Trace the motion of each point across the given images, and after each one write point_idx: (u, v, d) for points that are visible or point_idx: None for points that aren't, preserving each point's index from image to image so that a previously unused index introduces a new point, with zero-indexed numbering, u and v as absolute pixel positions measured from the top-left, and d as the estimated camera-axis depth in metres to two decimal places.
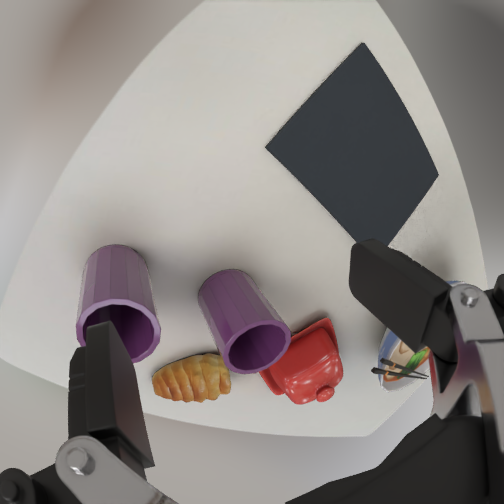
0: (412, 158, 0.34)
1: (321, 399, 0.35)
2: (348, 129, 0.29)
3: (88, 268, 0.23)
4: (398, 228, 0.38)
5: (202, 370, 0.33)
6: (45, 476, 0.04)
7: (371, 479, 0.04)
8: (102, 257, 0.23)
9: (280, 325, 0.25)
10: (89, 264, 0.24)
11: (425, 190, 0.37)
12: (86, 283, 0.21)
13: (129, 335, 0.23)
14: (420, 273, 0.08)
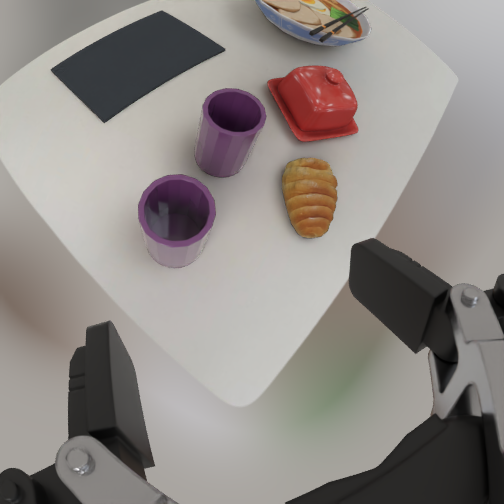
0: (141, 29, 0.38)
1: (338, 78, 0.33)
2: (106, 72, 0.34)
3: (149, 250, 0.29)
4: (199, 34, 0.40)
5: (292, 181, 0.34)
6: (46, 477, 0.04)
7: (371, 479, 0.04)
8: None
9: (214, 94, 0.28)
10: (149, 251, 0.29)
11: (171, 18, 0.40)
12: (147, 243, 0.26)
13: (204, 217, 0.27)
14: (420, 273, 0.08)
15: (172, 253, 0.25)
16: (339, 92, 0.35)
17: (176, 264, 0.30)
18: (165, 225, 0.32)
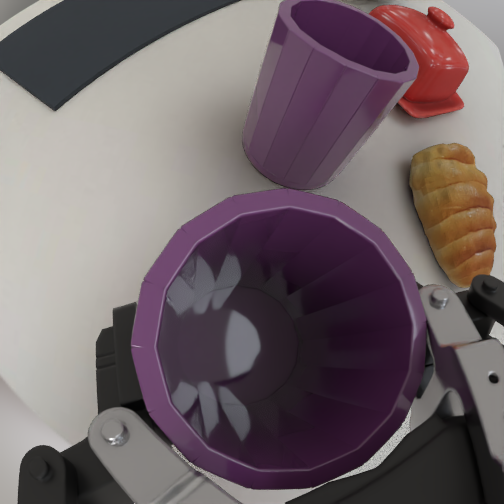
0: None
1: (449, 20, 0.15)
2: (62, 37, 0.17)
3: None
4: None
5: (439, 187, 0.16)
6: (74, 453, 0.04)
7: (371, 479, 0.04)
8: None
9: (295, 0, 0.10)
10: None
11: None
12: None
13: (348, 314, 0.09)
14: None
15: None
16: (451, 42, 0.17)
17: None
18: (211, 320, 0.13)
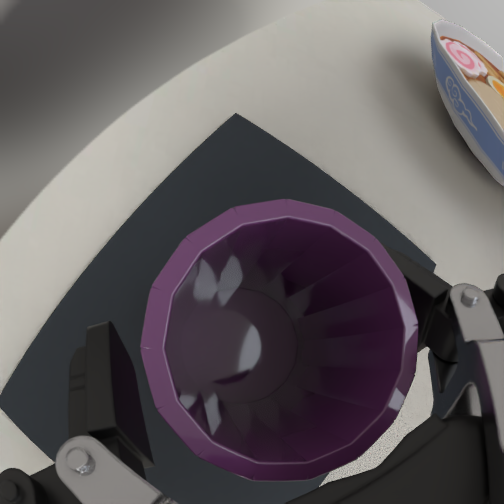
0: (209, 213, 0.16)
1: None
2: (175, 443, 0.12)
3: None
4: (372, 216, 0.18)
5: None
6: (45, 476, 0.04)
7: (371, 479, 0.04)
8: None
9: None
10: None
11: (278, 149, 0.18)
12: None
13: (344, 316, 0.09)
14: (420, 273, 0.08)
15: None
16: None
17: None
18: (213, 321, 0.14)
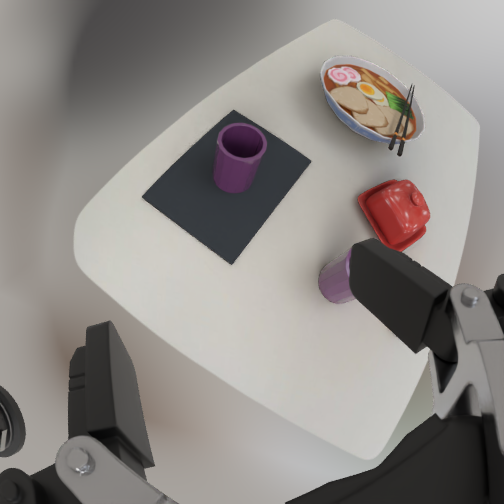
0: None
1: (421, 201, 0.41)
2: (211, 202, 0.43)
3: (219, 178, 0.42)
4: (282, 143, 0.49)
5: None
6: (45, 476, 0.04)
7: (371, 479, 0.04)
8: (214, 171, 0.43)
9: (350, 253, 0.36)
10: (218, 180, 0.43)
11: (248, 121, 0.49)
12: (221, 169, 0.40)
13: (257, 150, 0.41)
14: (420, 273, 0.08)
15: (241, 169, 0.38)
16: (420, 211, 0.43)
17: (239, 186, 0.43)
18: None
